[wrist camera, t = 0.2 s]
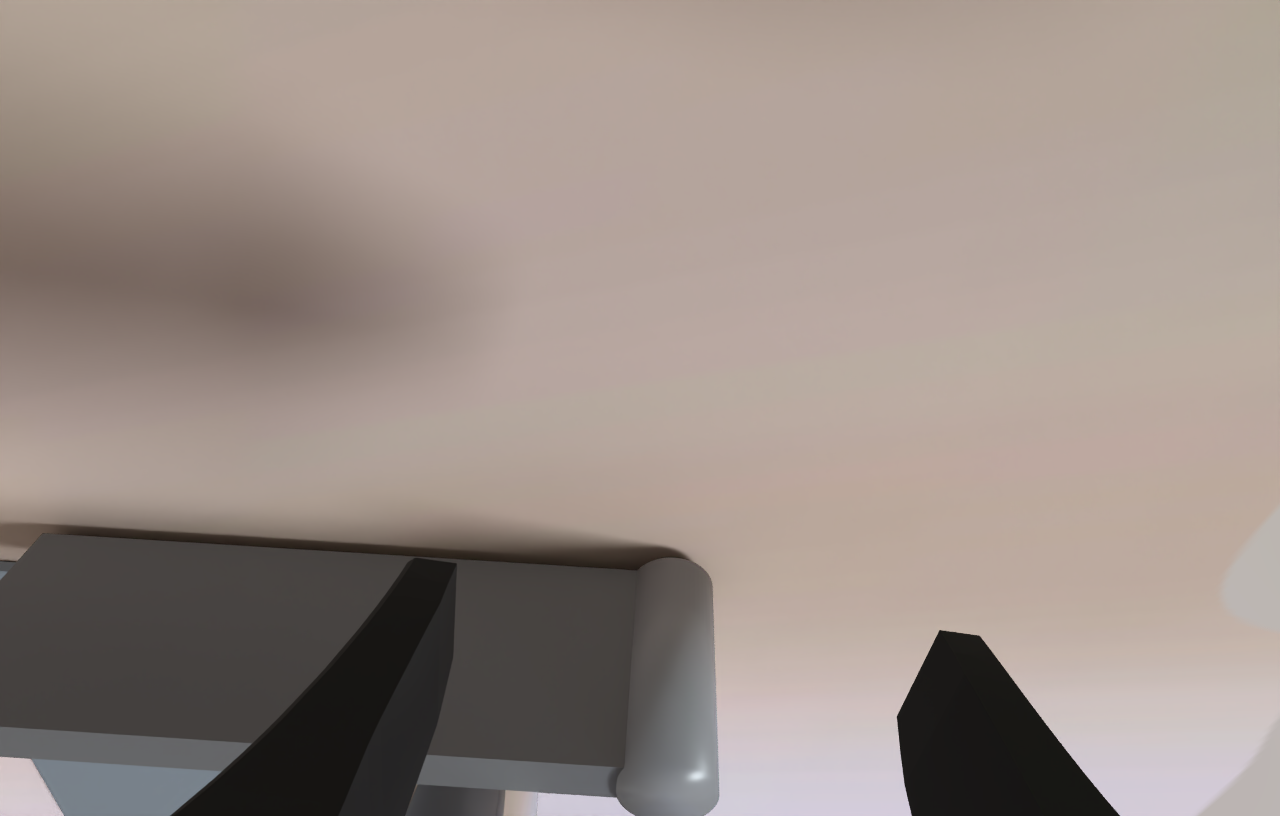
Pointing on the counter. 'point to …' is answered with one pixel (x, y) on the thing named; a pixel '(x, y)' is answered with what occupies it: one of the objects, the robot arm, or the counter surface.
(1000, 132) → the counter surface
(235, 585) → the grey rectangular panel
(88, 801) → the mat
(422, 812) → the milkshake
